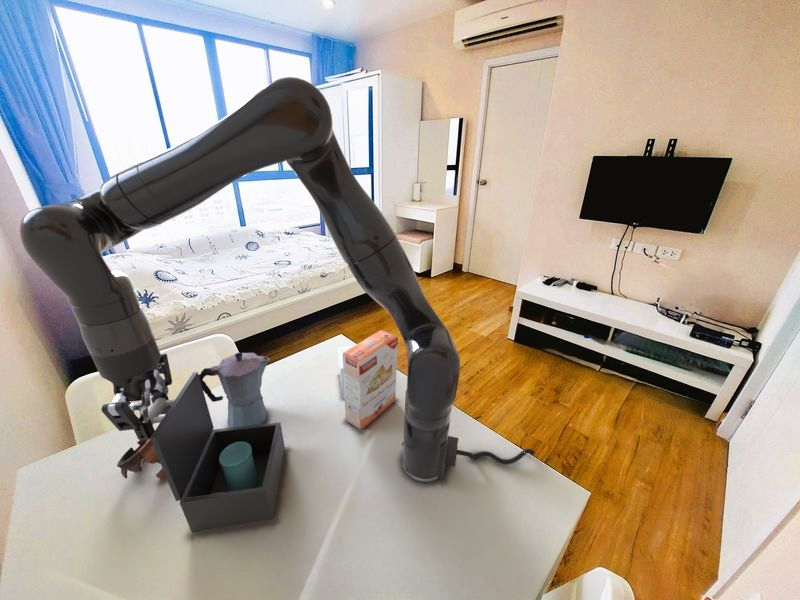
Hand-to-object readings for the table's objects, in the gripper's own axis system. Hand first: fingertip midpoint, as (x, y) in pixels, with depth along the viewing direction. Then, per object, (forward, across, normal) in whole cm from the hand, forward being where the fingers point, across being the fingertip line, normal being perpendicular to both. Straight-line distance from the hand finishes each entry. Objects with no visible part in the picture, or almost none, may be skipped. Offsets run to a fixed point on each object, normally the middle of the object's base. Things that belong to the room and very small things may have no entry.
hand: (157, 424), depth 55 cm
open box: (+19, 0, -11) cm, 22 cm away
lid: (+3, 0, -5) cm, 5 cm away
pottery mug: (+19, +8, +8) cm, 22 cm away
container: (+18, 0, -11) cm, 21 cm away
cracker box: (+20, +17, -38) cm, 46 cm away
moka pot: (+19, +18, -7) cm, 27 cm away
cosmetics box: (+20, +28, -33) cm, 48 cm away
